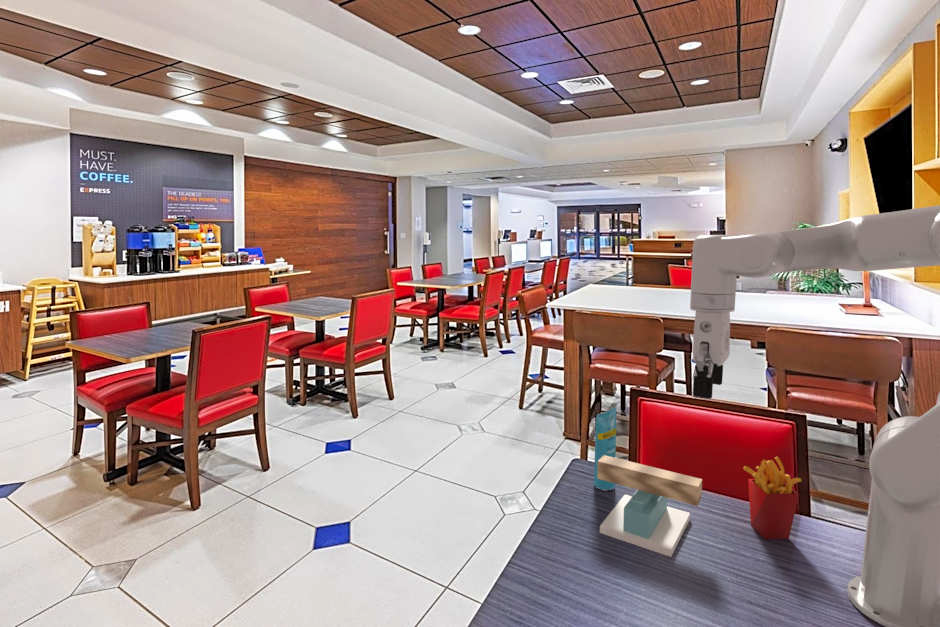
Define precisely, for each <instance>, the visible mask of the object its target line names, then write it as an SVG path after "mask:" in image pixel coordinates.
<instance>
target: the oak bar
mask: <svg viewBox="0 0 940 627" xmlns="http://www.w3.org/2000/svg"><path fill="white" fill-rule="evenodd" d="M597 479H601V480H604V481H608V482H611V483H615V485H618V486H622V487H627V488H631V489H634V490H636V491H637V490H640V491H644V492H648V493H651V494H655V495H659V496H662V497H666V498H667V499H670V500H673V501H676V502H679V503H684V504H689V505H692V506H695V507H698V506H699V503H700V501H701V499H702V491H703V479H702V478H699V477H695V476H691V475H686V474H684V473H683V474H682V473H678V472H674V471H670V470H666V469H662V468H658V467H654V466H650V465H646V464H642V463H639V462H633V461H629V460H626V459H621V458H617V457H615V458H614V457H610V456H606V455H603V456H602V457H601V458H600V459H599V460H598V472H597Z"/></svg>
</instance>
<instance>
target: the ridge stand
mask: <svg viewBox="0 0 940 627" xmlns="http://www.w3.org/2000/svg"><path fill="white" fill-rule="evenodd" d="M690 521H691V512H688V511H685V510H681V509H677V508H675V507H671V506H668V498H666V497H662V496H659V495H655V494H651V493H648V492H644V491H640V490H637V489H636V491H635V492H634V494H632V495H628V494H624V495H623V496H622V497H621V498H620V500H619V501H618V503H617V504H616V505H615V506H614V508H612V510H611V511H610V512H609V514H608V515H607V517H605V519H604V520H603V521H602V523H601V524H600V525H599V534H602V535H604V536H607V537H610V538H614V539H617V540H620V541H623V542H626V543H628V544H632V545H635V546H637V547H641V548H644V549H646V550H648V551H652V552H655V553H658V554H660V555H663V556H667V557H669V558H672V556H673V554H674V552H675V550H676V548H677V547H678V544H679V542H680V540H681V539H682V536H683V534H684V532H685V531H686V529H687V526H688V524H689V522H690Z"/></svg>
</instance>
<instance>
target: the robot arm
mask: <svg viewBox="0 0 940 627" xmlns="http://www.w3.org/2000/svg"><path fill="white" fill-rule="evenodd" d="M692 243H693V244H692V260H691V281H690V282H691V283H690V304H689V305H690V306H689V307H690V308H689V309H690V310H691V311H695V317H694V327H693V337H692V338H693V339H692V341H693V342H692V361H693V362H694V363H695V366H694V370H693V371H694V372H693V380H692V381H693V382H692V385H693V386H692V396H693V397H695V398H701V399H708V400H711V399H712V398H713V386H714V385H719V386H720V385H722V384H723V377H724V376H723V375H724V374H723V373H724V364H725V362H726V361H727V359H728V358H729V357H730V348H731V347H730V346H731V345H730V344H731V315H730V314H731V312H732V313H733V312H735V310H736V308H735V307H736V296H737V295H736V292H737V278H738V277H737V276H740V277H746V278H754V279H755V278H756V279H759V278H764V277H768V276H771V275H774V274H781V273H789V272H801V271H811V270H812V271H814V270H829V269H830V270H832V269H833V270H835V269H838V270H845V271H852V272H872V271H873V272H874V271H883V270H885V271H886V270H896V269H897V270H898V269H908V268H921V267H922V268H923V267H935V266H940V205H931V206H926V207H918V208H911V209H905V210H904V209H903V210H897V211H891V212H890V211H889V212H881V213H876V214H875V213H874V214H868V215H867V214H866V215H861V216H855V217H852V218H851V217H850V218H847V219H845V220H842V221H839V222H833V223H830V224H823V225H816V226H812V227H803V228H795V229H787V230H779V231H771V232H769V231H768V232H759V233H758V232H757V233H751V234H745V235H744V234H743V235H737V236H736V235H735V236H734V235H731V234H708V235H707V234H706V235H699V236H696V238H695V239H694V240H693V242H692ZM876 435H877V436H876V437H875V440H874V443H873V445H872V450H871V453H870V456H869V461H868V467H869V473H870V477H871V482H870V484H871V485H870V494H869V501H868V510H867V516H866V517H867V518H866V527H865V533H864V534H865V536H864V547H863V553H862V562H861V570H860V571H861V572H860V575H859V576H856V577H854V578H852V579H850V581H849V582H848V583H847V584H848V585H847V595H848V599H850V601H851V603H852V604H853V605H854V607H855V608H857V609H858V610H859V611H860V612H861V613H862V614H863V615H864V616H866V617H868V618H869V619H870V620H873V621H874V622H876V623H877V624H879V625H881V626H884V627H940V392H939V393H938V395H937V399H936V404H935V405H934V406H933V407H932V408H930V409H929V410H927V412H925V413H924V414H922V415H921V416H911V415H909V416H900V417H897V418H895V419H892V420H890V421H889V422H886V424H884V425H883V426H882V427H881V428H880V429H879V431H878V433H877V434H876Z"/></svg>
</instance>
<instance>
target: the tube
mask: <svg viewBox="0 0 940 627" xmlns="http://www.w3.org/2000/svg"><path fill="white" fill-rule="evenodd" d="M616 447H617V406H615V407H612V408H611V409H609V410H606V411H605V412H604V411H603V412H602V413H599V414H597V415H595V432H594V466H593V467H594V468H593V469H594V471H593V473H594V474H593V475H594V476H593V486H594V485H595V486H596V487H598V488H600V489H605V490H606V489H607V490H610V489H613V488H614V487H615V486H616V484H615V483H611V482H608V481H604V480H601V479H597V472H598V460H599V459H600V458H601V457H602V456H603V455H606V456H610V457H614V458H616V452H617V450H616ZM595 486H594V487H595ZM596 487H595V488H596ZM615 488H616V487H615ZM615 488H614V489H615ZM614 489H613V490H614Z"/></svg>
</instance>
